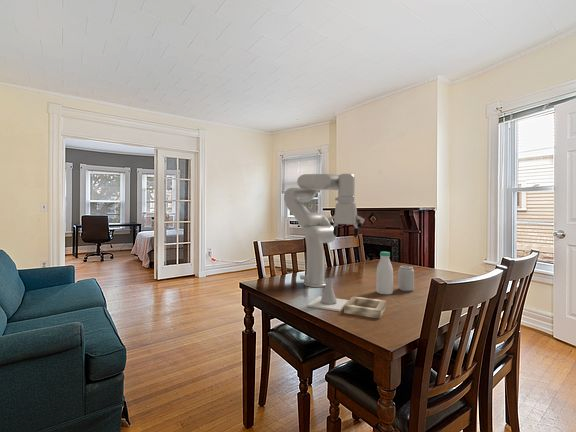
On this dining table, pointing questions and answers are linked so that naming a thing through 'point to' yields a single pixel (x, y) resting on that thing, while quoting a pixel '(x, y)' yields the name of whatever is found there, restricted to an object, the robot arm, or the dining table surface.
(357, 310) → the holder
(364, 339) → the dining table surface
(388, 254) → the milk bottle
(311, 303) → the plate
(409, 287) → the can
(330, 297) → the flask
